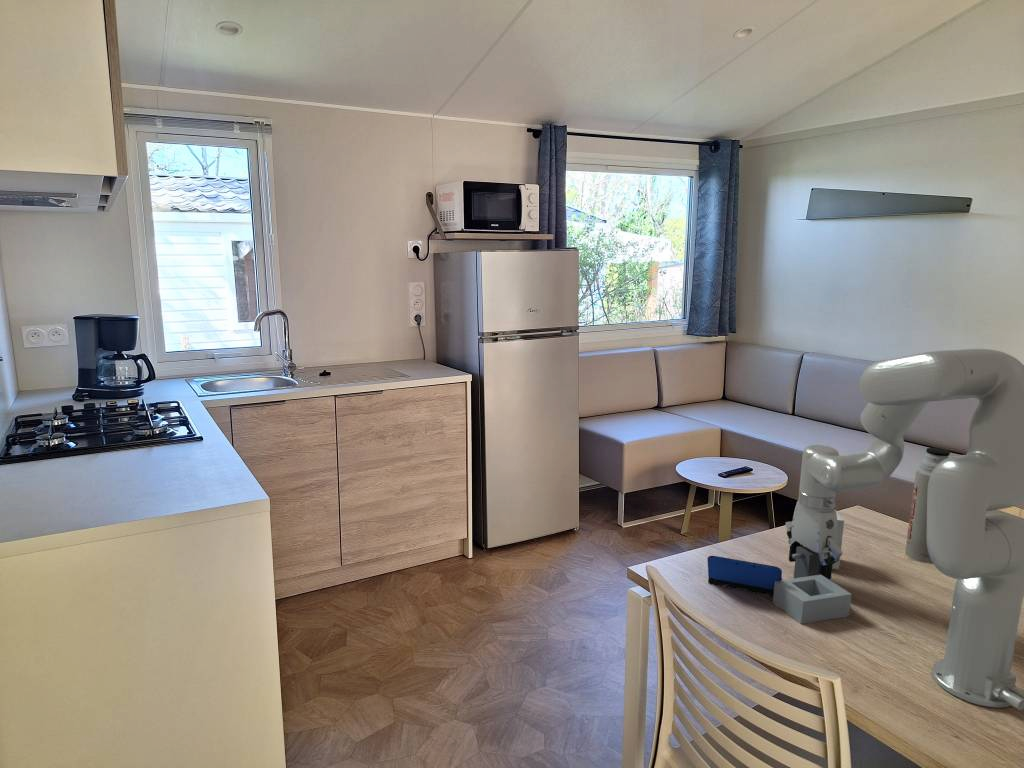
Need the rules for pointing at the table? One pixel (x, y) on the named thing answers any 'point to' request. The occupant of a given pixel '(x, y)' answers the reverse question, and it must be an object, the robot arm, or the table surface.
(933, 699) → the table surface
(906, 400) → the robot arm
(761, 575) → the handheld game console
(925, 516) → the thermos bottle
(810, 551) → the plug
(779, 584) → the socket
